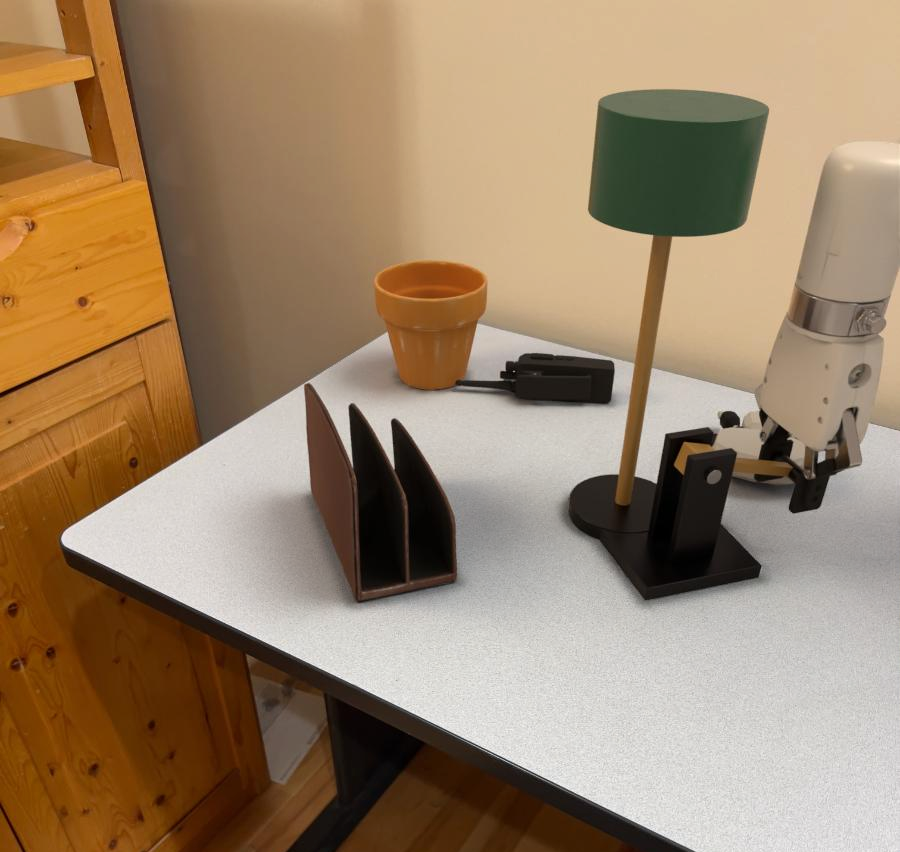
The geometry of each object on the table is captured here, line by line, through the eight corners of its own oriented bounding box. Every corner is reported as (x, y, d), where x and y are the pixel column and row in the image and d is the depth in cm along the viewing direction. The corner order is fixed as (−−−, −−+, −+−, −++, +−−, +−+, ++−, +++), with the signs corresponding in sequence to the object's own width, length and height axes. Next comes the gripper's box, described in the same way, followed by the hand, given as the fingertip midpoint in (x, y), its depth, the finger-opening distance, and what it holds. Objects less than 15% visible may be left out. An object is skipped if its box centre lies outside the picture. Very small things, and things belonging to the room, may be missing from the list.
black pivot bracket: (705, 521, 91) (730, 409, 83) (758, 578, 84) (792, 460, 76) (599, 541, 88) (614, 426, 80) (645, 601, 81) (667, 481, 73)
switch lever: (776, 468, 86) (788, 447, 85) (807, 495, 83) (819, 472, 81) (665, 457, 81) (676, 434, 80) (693, 485, 78) (704, 461, 76)
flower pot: (427, 410, 110) (425, 308, 102) (357, 374, 118) (350, 277, 110) (506, 377, 118) (511, 280, 109) (436, 345, 126) (435, 252, 118)
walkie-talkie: (616, 348, 109) (455, 341, 110) (613, 397, 108) (451, 389, 110) (611, 367, 115) (458, 359, 116) (608, 413, 114) (455, 405, 116)
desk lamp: (668, 480, 98) (740, 88, 74) (698, 549, 87) (793, 121, 63) (551, 482, 97) (585, 89, 73) (567, 552, 87) (614, 122, 63)
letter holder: (355, 604, 81) (344, 470, 72) (310, 494, 95) (296, 371, 86) (458, 583, 83) (460, 451, 74) (399, 478, 98) (394, 358, 89)
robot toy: (709, 431, 108) (690, 483, 96) (717, 396, 105) (699, 445, 94) (814, 450, 105) (808, 506, 93) (824, 414, 102) (819, 467, 90)
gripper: (946, 342, 68) (876, 535, 80) (813, 271, 81) (769, 446, 92) (864, 355, 67) (804, 550, 78) (741, 280, 79) (706, 457, 91)
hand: (786, 492), depth 85 cm, fingers closed on switch lever, 5 cm apart
